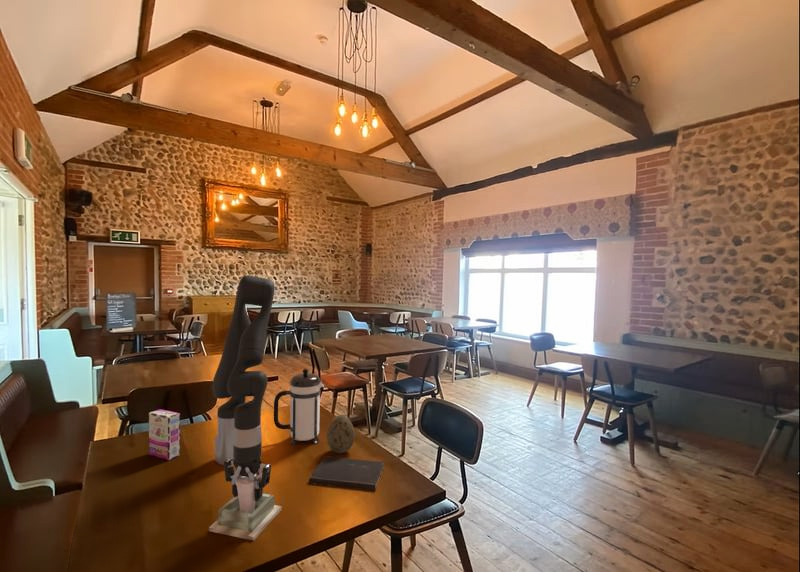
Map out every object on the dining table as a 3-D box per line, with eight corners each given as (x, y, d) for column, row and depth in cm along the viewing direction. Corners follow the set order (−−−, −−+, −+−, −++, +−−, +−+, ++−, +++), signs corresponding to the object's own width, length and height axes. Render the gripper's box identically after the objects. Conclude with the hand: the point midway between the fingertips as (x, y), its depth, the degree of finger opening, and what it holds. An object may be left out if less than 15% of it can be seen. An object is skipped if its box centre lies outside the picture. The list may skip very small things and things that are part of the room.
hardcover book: (325, 462, 149) (325, 456, 149) (384, 468, 146) (384, 462, 145) (308, 484, 133) (308, 478, 133) (375, 492, 130) (375, 485, 130)
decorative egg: (346, 461, 149) (346, 422, 148) (321, 455, 153) (321, 417, 152) (358, 448, 159) (359, 412, 158) (335, 444, 163) (335, 408, 162)
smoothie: (236, 520, 109) (236, 471, 109) (234, 507, 115) (234, 460, 114) (260, 514, 112) (261, 466, 112) (257, 501, 118) (257, 456, 117)
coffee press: (304, 428, 178) (305, 362, 177) (329, 437, 169) (331, 368, 167) (272, 441, 164) (272, 369, 163) (297, 452, 155) (298, 377, 153)
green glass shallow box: (208, 531, 108) (208, 513, 108) (240, 501, 122) (240, 486, 122) (253, 540, 105) (254, 522, 105) (281, 509, 119) (281, 493, 119)
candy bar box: (180, 455, 151) (180, 412, 150) (168, 461, 146) (168, 417, 145) (160, 449, 155) (160, 408, 154) (148, 454, 150) (147, 412, 149)
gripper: (216, 443, 111) (216, 501, 111) (262, 449, 107) (262, 509, 108) (234, 432, 118) (233, 486, 119) (277, 438, 115) (276, 494, 115)
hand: (247, 497), depth 113 cm, fingers closed on smoothie, 6 cm apart
